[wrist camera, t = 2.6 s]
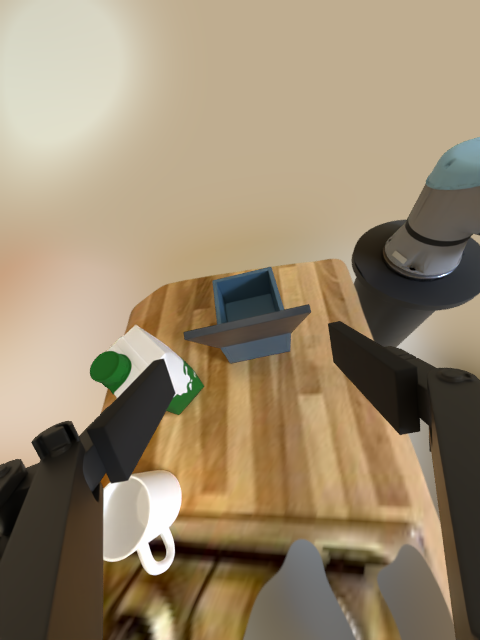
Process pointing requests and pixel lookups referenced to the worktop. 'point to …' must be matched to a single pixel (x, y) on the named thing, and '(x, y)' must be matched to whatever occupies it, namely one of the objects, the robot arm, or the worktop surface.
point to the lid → (250, 328)
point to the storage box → (249, 311)
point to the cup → (141, 517)
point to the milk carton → (144, 367)
